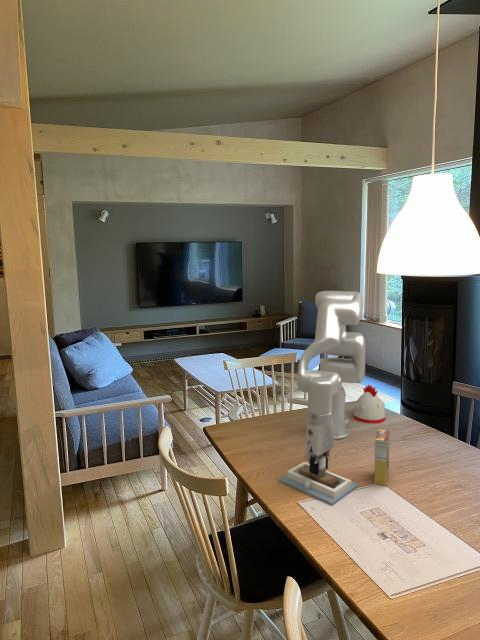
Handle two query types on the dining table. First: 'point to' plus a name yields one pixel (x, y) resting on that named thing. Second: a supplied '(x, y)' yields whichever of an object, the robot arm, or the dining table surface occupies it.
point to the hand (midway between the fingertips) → (318, 470)
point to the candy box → (381, 457)
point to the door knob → (320, 473)
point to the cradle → (318, 485)
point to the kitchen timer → (369, 407)
